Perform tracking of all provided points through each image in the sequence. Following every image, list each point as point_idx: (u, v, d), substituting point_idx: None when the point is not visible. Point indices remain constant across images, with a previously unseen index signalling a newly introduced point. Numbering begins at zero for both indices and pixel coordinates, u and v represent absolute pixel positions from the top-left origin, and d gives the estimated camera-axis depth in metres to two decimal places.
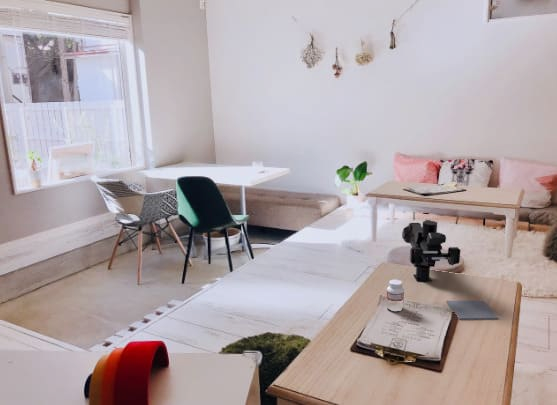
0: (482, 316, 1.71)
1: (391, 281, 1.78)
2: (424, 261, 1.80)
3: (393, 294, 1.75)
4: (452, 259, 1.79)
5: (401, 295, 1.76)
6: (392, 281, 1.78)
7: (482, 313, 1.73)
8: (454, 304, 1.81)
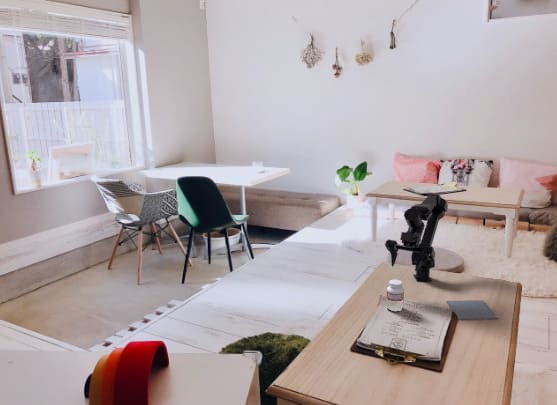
0: (482, 316, 1.71)
1: (391, 281, 1.78)
2: None
3: (393, 294, 1.75)
4: (417, 264, 1.80)
5: (401, 295, 1.76)
6: (392, 281, 1.78)
7: (482, 313, 1.73)
8: (454, 304, 1.81)
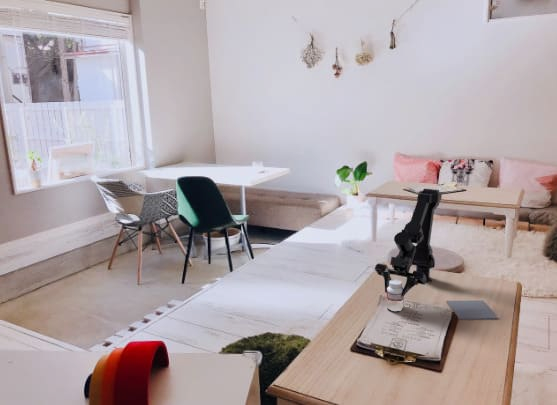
0: (482, 316, 1.71)
1: (391, 281, 1.78)
2: None
3: (393, 294, 1.75)
4: (404, 289, 1.75)
5: (401, 295, 1.76)
6: (392, 281, 1.78)
7: (482, 313, 1.73)
8: (454, 304, 1.81)
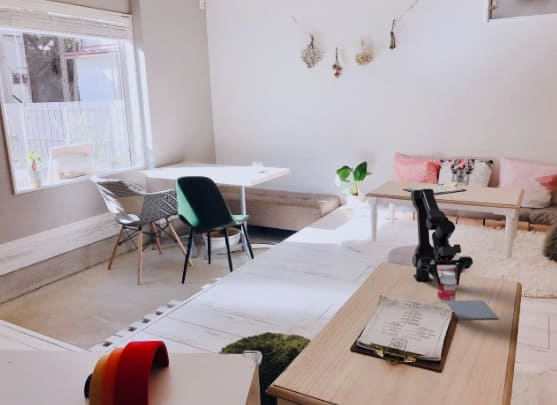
0: (482, 316, 1.71)
1: (444, 272, 1.70)
2: (436, 279, 1.71)
3: (451, 285, 1.68)
4: (458, 278, 1.70)
5: (456, 284, 1.70)
6: (445, 272, 1.70)
7: (482, 313, 1.73)
8: (454, 304, 1.81)
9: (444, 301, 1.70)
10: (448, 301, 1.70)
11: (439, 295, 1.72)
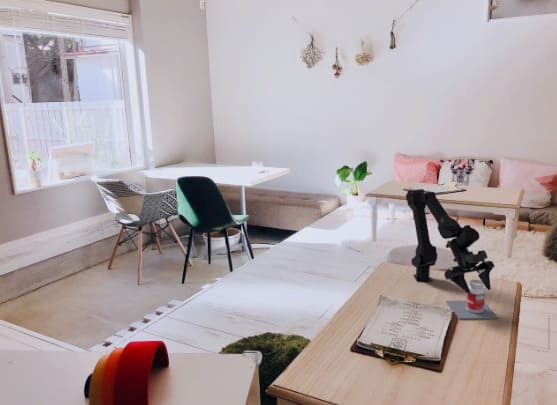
0: (482, 316, 1.71)
1: (473, 283, 1.72)
2: (465, 287, 1.72)
3: (483, 294, 1.71)
4: (488, 282, 1.74)
5: None
6: (474, 282, 1.73)
7: (482, 313, 1.73)
8: (454, 304, 1.81)
9: (476, 311, 1.73)
10: (480, 310, 1.73)
11: (470, 306, 1.73)
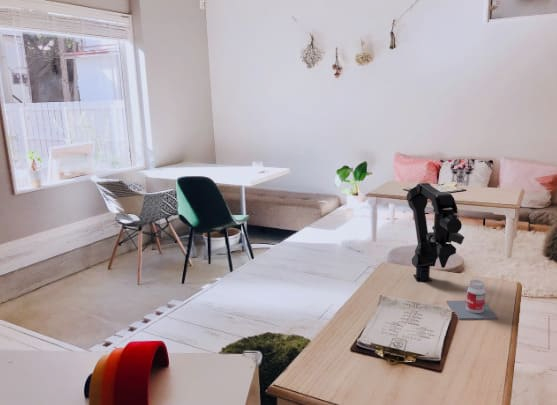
0: (482, 316, 1.71)
1: (474, 283, 1.72)
2: (444, 262, 1.83)
3: (483, 294, 1.71)
4: None
5: None
6: (474, 282, 1.73)
7: (482, 313, 1.73)
8: (454, 304, 1.81)
9: (476, 311, 1.73)
10: (480, 310, 1.73)
11: (470, 306, 1.73)
